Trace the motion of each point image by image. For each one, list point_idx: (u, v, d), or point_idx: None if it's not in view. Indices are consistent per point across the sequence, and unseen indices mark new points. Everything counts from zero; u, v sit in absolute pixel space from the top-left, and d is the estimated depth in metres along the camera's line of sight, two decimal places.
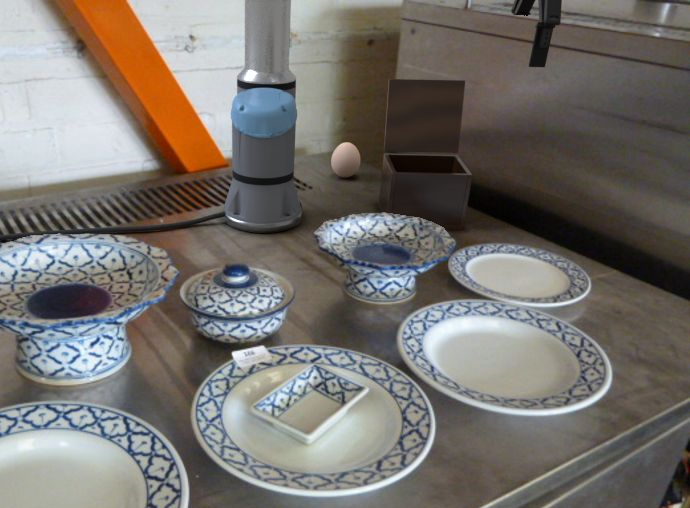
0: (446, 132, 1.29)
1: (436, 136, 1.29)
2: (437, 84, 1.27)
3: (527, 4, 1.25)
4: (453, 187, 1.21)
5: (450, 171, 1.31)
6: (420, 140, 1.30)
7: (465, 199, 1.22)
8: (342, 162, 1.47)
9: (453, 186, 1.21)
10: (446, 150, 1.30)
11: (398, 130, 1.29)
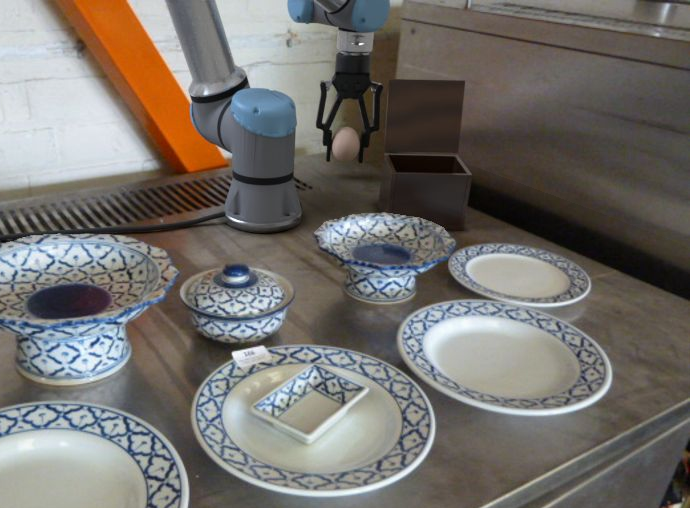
0: (446, 132, 1.29)
1: (436, 136, 1.29)
2: (437, 84, 1.27)
3: (361, 116, 1.45)
4: (453, 187, 1.21)
5: (450, 171, 1.31)
6: (420, 140, 1.30)
7: (465, 199, 1.22)
8: (341, 146, 1.45)
9: (453, 186, 1.21)
10: (446, 150, 1.30)
11: (398, 130, 1.29)
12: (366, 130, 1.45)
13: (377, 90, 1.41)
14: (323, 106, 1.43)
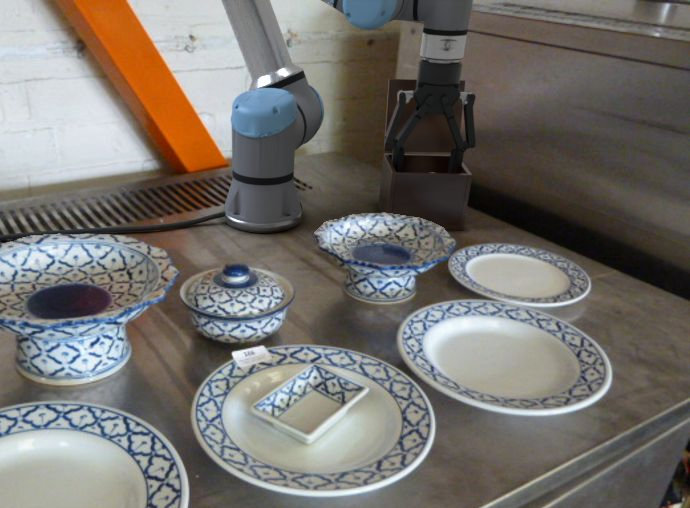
0: (446, 132, 1.29)
1: (436, 136, 1.29)
2: None
3: (452, 132, 1.22)
4: (453, 187, 1.21)
5: None
6: (420, 140, 1.30)
7: (465, 199, 1.22)
8: None
9: (453, 186, 1.21)
10: (446, 150, 1.30)
11: (398, 130, 1.29)
12: (460, 147, 1.22)
13: (469, 101, 1.18)
14: (398, 121, 1.20)
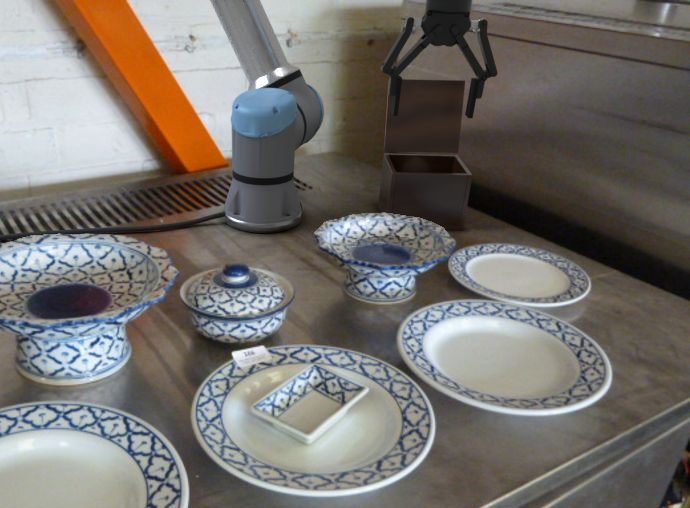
0: (446, 132, 1.29)
1: (436, 136, 1.29)
2: (437, 84, 1.27)
3: (469, 63, 1.16)
4: (453, 187, 1.21)
5: (450, 171, 1.31)
6: (420, 140, 1.30)
7: (465, 199, 1.22)
8: None
9: (453, 186, 1.21)
10: (446, 150, 1.30)
11: (398, 130, 1.29)
12: (480, 77, 1.16)
13: (481, 28, 1.12)
14: (400, 47, 1.14)
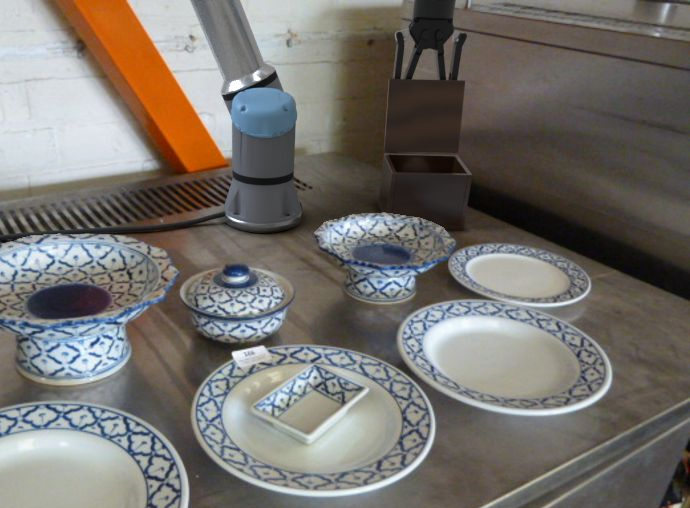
0: (446, 132, 1.29)
1: (436, 136, 1.29)
2: (437, 84, 1.27)
3: (437, 70, 1.28)
4: (453, 187, 1.21)
5: (450, 171, 1.31)
6: (420, 140, 1.30)
7: (465, 199, 1.22)
8: None
9: (453, 186, 1.21)
10: (446, 150, 1.30)
11: (398, 130, 1.29)
12: None
13: (460, 39, 1.24)
14: (401, 59, 1.26)
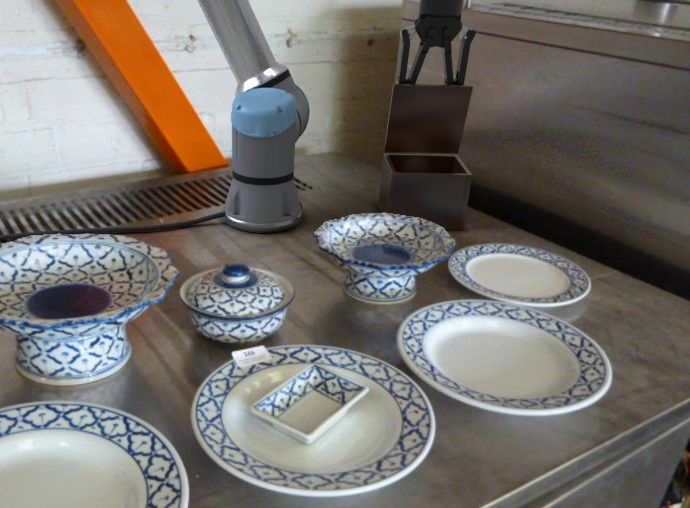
0: (448, 135, 1.28)
1: (437, 139, 1.28)
2: (443, 90, 1.22)
3: (444, 68, 1.23)
4: (453, 187, 1.21)
5: (450, 171, 1.31)
6: (421, 142, 1.29)
7: (465, 199, 1.22)
8: None
9: (453, 186, 1.21)
10: (446, 151, 1.30)
11: (399, 133, 1.28)
12: None
13: (468, 37, 1.19)
14: (406, 58, 1.21)
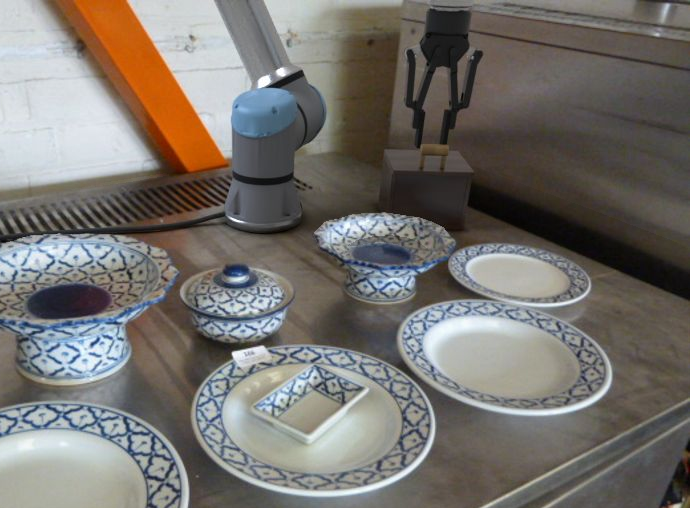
0: None
1: None
2: None
3: (449, 89, 1.17)
4: (453, 187, 1.21)
5: None
6: None
7: (465, 199, 1.22)
8: None
9: (453, 186, 1.21)
10: None
11: None
12: (453, 107, 1.18)
13: (475, 57, 1.14)
14: (412, 79, 1.16)
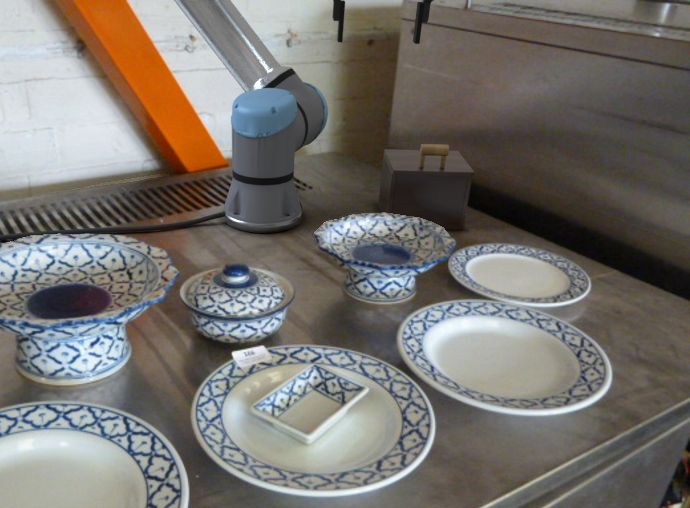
0: None
1: None
2: None
3: None
4: (453, 187, 1.21)
5: None
6: None
7: (465, 199, 1.22)
8: None
9: (453, 186, 1.21)
10: None
11: None
12: None
13: None
14: None
